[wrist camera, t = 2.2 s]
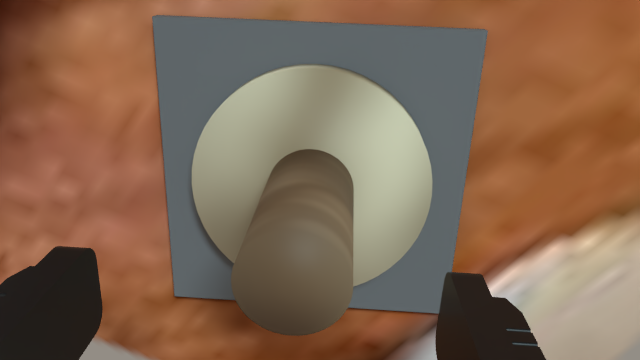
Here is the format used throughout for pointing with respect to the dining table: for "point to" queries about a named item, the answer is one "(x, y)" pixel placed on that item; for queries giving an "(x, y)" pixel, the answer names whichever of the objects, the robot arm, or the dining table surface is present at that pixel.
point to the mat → (329, 49)
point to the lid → (309, 191)
